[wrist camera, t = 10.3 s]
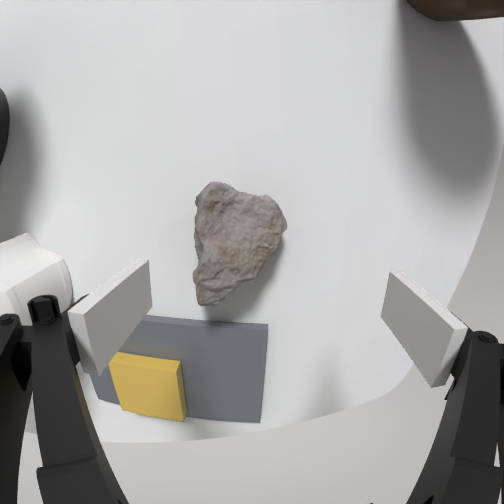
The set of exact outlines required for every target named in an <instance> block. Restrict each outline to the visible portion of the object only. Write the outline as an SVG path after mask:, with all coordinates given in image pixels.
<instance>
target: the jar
mask: <svg viewBox="0 0 504 504" xmlns="http://www.w3.org/2000/svg"><path fill="white" fill-rule="evenodd" d="M40 295H54V296H56V297H57V299H58V303H59V307H60V312H61V313H62V312H63V311H65V310H66V309H67V308H69V307H70V304H71V298H72V285H71V279H70V275H69V271H68V269H67V266H66V263H65V261H64V259H63V258H62V257H60V256H59V255H58V254H55V253H52V252H50V251H48V250H47V249H45V248H44V247H43V246H41V245H40V244H39V243H38V241H37V240H36V239H35V238H34V236H33V235H31V234H30V233H29V232H26V233H23V234H20V235H18V236H16V237H15V238H12V239H9V240H7V241H4V242H2V243H0V316H1V315H3V314H6V313H8V314H17V315H18V316H19V317H20V321H21V324H22V325H28V326H32V321H31V317H30V313H29V310H28V305H27V303H28V301H30V300H31V299H32V298H34V297H37V296H40Z"/></svg>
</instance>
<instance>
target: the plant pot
mask: <svg viewBox="0 0 504 504" xmlns="http://www.w3.org/2000/svg"><path fill="white" fill-rule="evenodd" d="M407 1H408V2H409V3H410V4H411V5H412V6H413V7H414V8H415V9H416V10H418V11H419V12H420V13H422V14H423V15H425V16H427V17H429V18H431V19H434V20H438V21H459V20H476V19H487V18H498V17H504V0H407Z"/></svg>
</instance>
